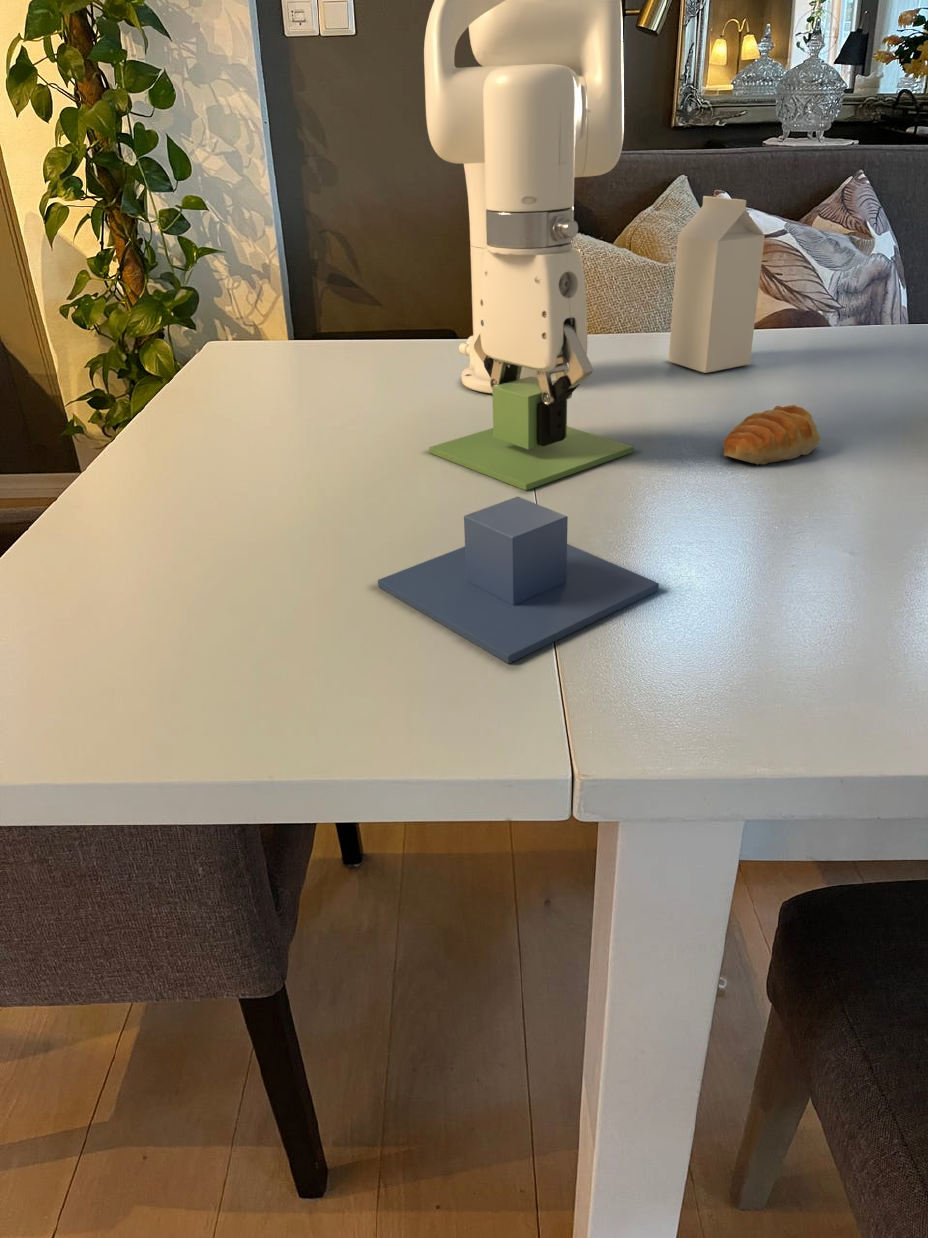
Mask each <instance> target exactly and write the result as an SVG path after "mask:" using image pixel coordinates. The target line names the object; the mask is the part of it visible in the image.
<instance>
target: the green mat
mask: <svg viewBox="0 0 928 1238" xmlns="http://www.w3.org/2000/svg"><path fill="white" fill-rule="evenodd" d="M428 453H429V454H431V455H434V456H437V457H439V458H441V459H443V460H446V461H450V462H452V463H455V464H457V465H459V466H462V467H465V468H467V469H470V470H472V471H475V472H478V473H480V474H483V475H486V476H487V477H490V478H493V479H495V480H498V481H500V482H503V483H506V484H508V485H511V486H513V487H516V488H518V489H521V490H523V491H526V492H527V491H530V490H532V489H535V488H538V487H540V486H542V485H546V484H549V483H552V482H554V481H558V480H560V479H562V478H565V477H569V476H571V475H574V474H576V473H580V472H582V471H584V470H588V469H590V468H593V467H596V466H599V465H602V464H605V463H608V462H610V461H612V460H615V459H618V458H620V457H624V456H627V455H630V454H632V453H634V446H632V445H629V444H626V443H623V442H619V441H616V440H613V439H610V438H607V437H603V436H600V435H596V434H594V433H590V432H587V431H584V430H580V429H577V428H574V427H570V426H568V425H567V437H566V438H565V439H564V440H562V441H559V442H556V443H553V444H549V445H546V446H538V447H535V448H532V449H529V450H528V449H525V448H522V447H519V446H516V445H513V444H510V443H507V442H505V441H502V440H499V439H496V438H493V427H492V428H487V429H485V430H482V431H479V432H475V433H472V434H469V435H465V436H461V437H458V438H454V439H452V440H449V441H445V442H442V443H438V444H436V445H431V446H429V447H428Z"/></svg>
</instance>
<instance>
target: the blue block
mask: <svg viewBox="0 0 928 1238" xmlns="http://www.w3.org/2000/svg"><path fill="white" fill-rule="evenodd" d="M568 521H569V519H568V515H565V514H563V513H560V512H558V511H555V510H553V509H550V508H548V507H545V506H543V505H541V504H538V503H535V502H533V501H531V500H528V499H525V498H524V497H520V496H514V497H513V498H510V499H506V500H504V501H500V502H498V503H495V504H492V505H490V506H488V507H487V506H486V507H483V508H481V509H479V510H476V511H474V512H471V513H468V514H465V515H464V516H463V528H464V529H463V530H464V532H463V533H464V547H465V558H466V580H467V581H468V582H470V583H472V584H474V585H475V586H477V587H479V588H481V589H483V590H485V591H487V592H489V593H491V594H493V595H495V596H496V597H498V598H500V599H502V600H504V601H506V602H508V603H510V604H512V605H516V604H518V603H520V602H523V601H525V600H527V599H529V598H532V597H534V596H536V595H538V594H541V593H543V592H545V591H547V590H549V589H552V588H554V587H556V586H558V585H561V584H563V583H565V582H566V574H567V544H568V527H569V525H568V524H569V522H568Z"/></svg>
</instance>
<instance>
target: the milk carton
mask: <svg viewBox="0 0 928 1238" xmlns="http://www.w3.org/2000/svg"><path fill="white" fill-rule="evenodd" d="M746 207H747V200H746V199H738V198H729V197H728V198H727V197H718V196H709V195H703V197H702V206H701V207H700V208H699V209H698V210H697V212H696V213H695V214H694V216H693V217H691V219H690V220H689V221H688V222H687V224H686V225H685V226H684V227H683V228H682V229H681V231H680V232H679V233H678V234H677V241H676V255H675V268H674V280H673V281H674V282H673V283H674V284H673V295H672V296H673V297H672V308H671V309H672V310H671V323H670V335H669V336H670V337H669V348H668V350H669V351H668V362H670V363H673V364H675V365H678V366H682V367H685V368H688V369H692V370H694V371H697V372H701V373H705V374H707V373H713V372H718V371H722V370H728V369H734V368H737V367H743V366H747V365H750V364H751V357H752V349H753V340H754V332H755V323H756V314H757V306H758V297H759V288H760V281H761V272H762V262H763V255H764V248H765V246H764V245H765V238H766V237H765V236H766V235H765V234H764V232H763V231H762V230H761V228H760V227H759V226H758V224H757V223H756V222H755V221H754V220H753V218H752V217H751V216H750V214H749V213H748V212H747V211H746V209H747V208H746Z"/></svg>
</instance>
